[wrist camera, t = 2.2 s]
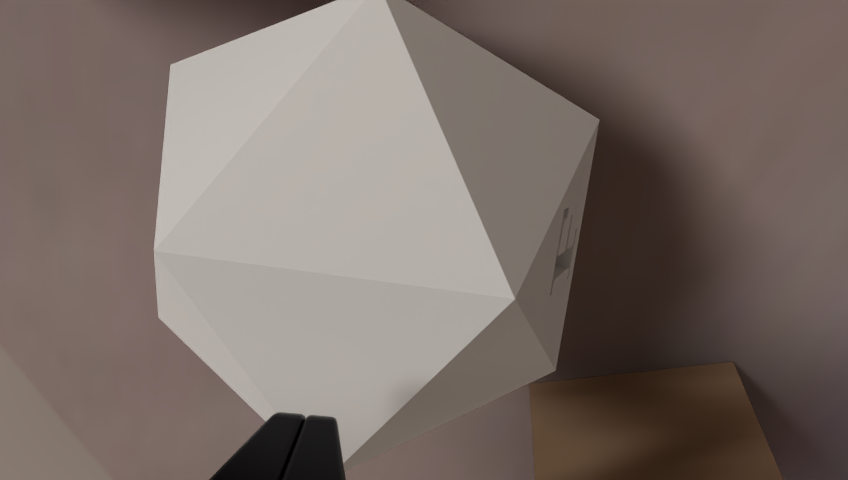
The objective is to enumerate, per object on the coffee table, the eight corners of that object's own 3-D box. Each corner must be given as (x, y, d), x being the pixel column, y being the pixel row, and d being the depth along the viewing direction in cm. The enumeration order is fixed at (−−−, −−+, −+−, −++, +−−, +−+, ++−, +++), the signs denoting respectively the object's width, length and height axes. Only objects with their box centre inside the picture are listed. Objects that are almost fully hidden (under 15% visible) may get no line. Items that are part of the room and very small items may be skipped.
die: (417, 324, 21) (671, 505, 13) (100, 344, 17) (173, 640, 9) (454, 41, 20) (774, 40, 11) (111, -20, 15) (216, -97, 7)
